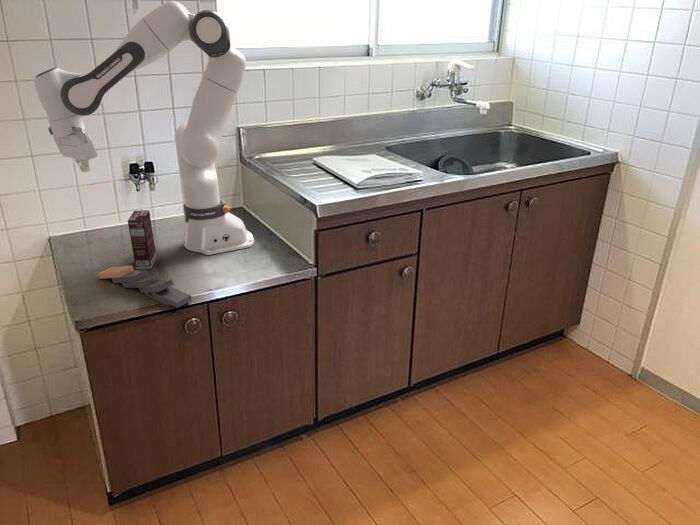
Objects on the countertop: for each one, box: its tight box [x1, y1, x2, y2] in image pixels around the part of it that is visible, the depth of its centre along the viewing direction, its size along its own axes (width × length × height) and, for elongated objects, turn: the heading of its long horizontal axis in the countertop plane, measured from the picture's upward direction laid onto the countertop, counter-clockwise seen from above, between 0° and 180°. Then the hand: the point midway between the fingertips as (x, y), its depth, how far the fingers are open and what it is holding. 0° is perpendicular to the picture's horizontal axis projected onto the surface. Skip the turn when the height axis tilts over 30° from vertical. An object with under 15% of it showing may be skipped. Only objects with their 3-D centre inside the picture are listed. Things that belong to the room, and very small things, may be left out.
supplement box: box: [127, 209, 158, 270], centre depth 179 cm, size 9×5×16 cm, turn 5°
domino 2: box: [110, 269, 149, 284], centre depth 169 cm, size 2×5×10 cm
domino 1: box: [97, 265, 135, 279], centre depth 172 cm, size 2×5×10 cm
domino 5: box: [144, 292, 171, 307], centre depth 164 cm, size 2×5×10 cm
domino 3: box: [121, 274, 160, 289], centre depth 167 cm, size 2×5×10 cm
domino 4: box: [138, 279, 175, 294], centre depth 163 cm, size 2×5×10 cm
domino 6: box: [152, 286, 193, 308], centre depth 161 cm, size 2×5×10 cm
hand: (86, 171), depth 180 cm, fingers closed
